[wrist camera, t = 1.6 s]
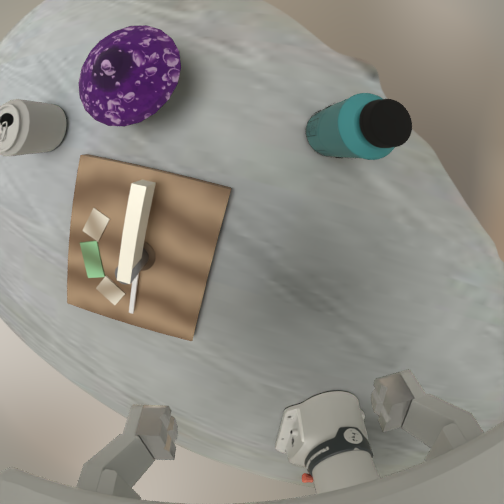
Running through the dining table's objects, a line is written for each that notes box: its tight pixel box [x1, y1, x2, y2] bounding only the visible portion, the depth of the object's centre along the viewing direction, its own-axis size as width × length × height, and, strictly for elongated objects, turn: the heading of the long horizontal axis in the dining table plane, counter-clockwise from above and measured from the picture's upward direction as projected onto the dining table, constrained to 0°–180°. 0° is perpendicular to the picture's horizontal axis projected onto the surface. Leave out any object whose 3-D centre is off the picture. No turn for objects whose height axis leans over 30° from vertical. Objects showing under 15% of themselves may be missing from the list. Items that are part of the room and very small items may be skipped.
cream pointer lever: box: [115, 180, 156, 314], centre depth 37 cm, size 20×3×7 cm, turn 164°
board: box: [67, 154, 231, 341], centre depth 42 cm, size 24×22×2 cm
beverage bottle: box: [306, 93, 412, 160], centre depth 29 cm, size 6×7×20 cm
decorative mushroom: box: [79, 26, 181, 126], centre depth 28 cm, size 12×12×15 cm
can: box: [0, 99, 67, 156], centre depth 30 cm, size 8×8×12 cm
